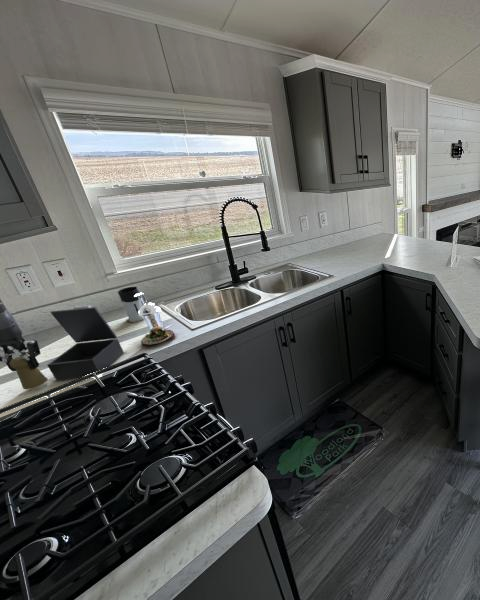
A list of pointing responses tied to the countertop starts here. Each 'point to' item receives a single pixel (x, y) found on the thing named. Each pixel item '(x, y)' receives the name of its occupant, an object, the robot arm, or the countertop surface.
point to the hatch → (84, 324)
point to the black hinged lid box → (85, 359)
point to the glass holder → (131, 302)
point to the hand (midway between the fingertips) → (26, 368)
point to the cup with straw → (150, 313)
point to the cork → (27, 373)
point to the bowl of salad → (157, 336)
